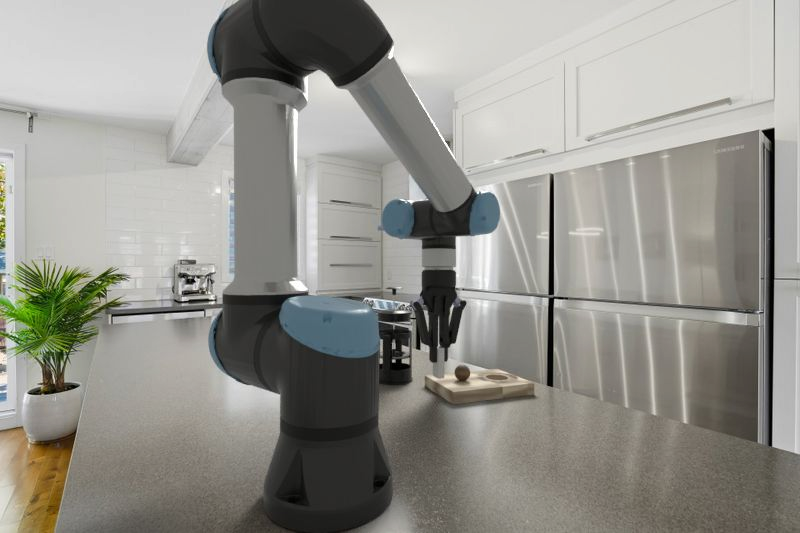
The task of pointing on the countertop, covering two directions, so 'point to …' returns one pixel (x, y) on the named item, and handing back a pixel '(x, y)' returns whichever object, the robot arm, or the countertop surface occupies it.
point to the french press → (395, 347)
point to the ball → (462, 372)
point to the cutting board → (479, 386)
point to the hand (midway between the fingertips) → (438, 376)
